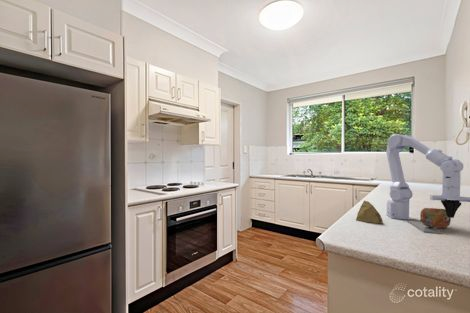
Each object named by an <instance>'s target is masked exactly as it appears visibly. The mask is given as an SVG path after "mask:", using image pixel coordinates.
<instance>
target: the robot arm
mask: <svg viewBox="0 0 470 313" xmlns="http://www.w3.org/2000/svg"><path fill="white" fill-rule="evenodd" d="M386 141H387V146H386V150H385V152H386V157H387V163H388V166H389V172H390V177H391V181H392V183H391V185H390V186H389V189H390V190H389V197H390V198H391V199H389V200H387V202H386V216H388V217H389V218H390V219H395V220H396V219H398V220H407V221H414V220H413V218H412V217H410V199H412V197H413V194H414V193H413V191H412V190H411V189H410V186H409V184H408V183H407V182H406V180H405V176H404V172H403V167H402V166H403V165H402V162H401V157H400V153H401V151H402V150H403V149H405V148H407V147H411V148H412V149H414V150H415V151H418V152H420V153H421V154H423V155H425V159H426V160H427V161H429V162H431V163H433V164H434V165H435V166H437V167H439V169H440V170H441V172H442V188H441V190H442V194H441V195H437V194H435V195H433V194H431V195H430V196H429V199H430V200H431V201H440V203H441V204H442V206H443V207H444V208H443V209H445V210H446V213H447V217H450V218H452V219H454V218H455V215H456V213H457V211H458V209H459V208H460V207H461V206H462V202H463V203H464V202H465V203H470V197H468V196H461V171H463V170H464V163H463V162H462V161H461V160H460V159H453V157H452V156H451V155H450V156H449V155H447V154H446V153H444V152H443V150H442V149H437V148H433V149H432V148H430V147H428V146H426V145H425V144H424V143H422V142H420V141H419V140H417V139H416V138H415V137H413V136H410V135H409V134H397V133H393V134H391V135H390V136H389V137H388V139H387V140H386Z"/></svg>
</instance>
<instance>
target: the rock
mask: <svg viewBox="0 0 470 313" xmlns="http://www.w3.org/2000/svg"><path fill="white" fill-rule="evenodd" d="M356 215H357V216H356V218H355V221H356V222H362V223H363V222H364V223H373V224H383V223H384V222H383V218H382V217H381V214H380V213H379V212H378V210H377V209H376V208H375V206H374V204H372V203H371V202H369V201H367V200H363V202H362V203H361V206H360V208H359V210H358V212H357V214H356Z"/></svg>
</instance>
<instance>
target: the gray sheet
mask: <svg viewBox="0 0 470 313" xmlns="http://www.w3.org/2000/svg"><path fill="white" fill-rule="evenodd" d="M407 223H408V224H410V225H412V226H413V227H415V228H416V229H418V230H419V231H421V232H423V233H427V234H428V233H429V234H439V235H440V234H442V232H441V231H440V230H438V229H437V228H436V227H429V226H425V225H424V224H423V223H422V222H421V221H417V220H415V221H414V220H407Z"/></svg>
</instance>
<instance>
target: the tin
mask: <svg viewBox="0 0 470 313" xmlns="http://www.w3.org/2000/svg"><path fill="white" fill-rule="evenodd" d="M451 220H452V219H451V218H450V217H447V213H446V210H445V208H434V207H424V208H422V210H421V211H420V222H422V223H423V224H424V225H425V226H429V227H433V228H436V229H437V228H440V229H445V228H446V229H447V228H448V227H449V226H450V224H451Z"/></svg>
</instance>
